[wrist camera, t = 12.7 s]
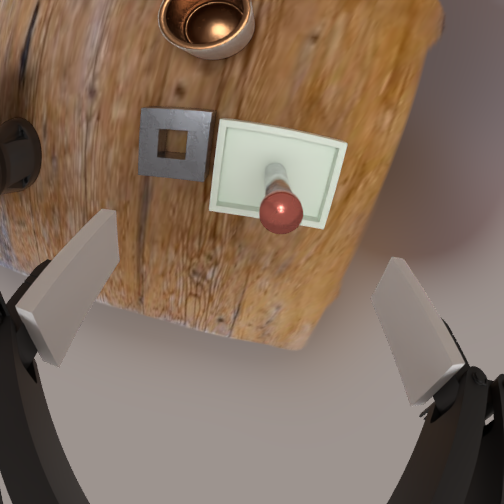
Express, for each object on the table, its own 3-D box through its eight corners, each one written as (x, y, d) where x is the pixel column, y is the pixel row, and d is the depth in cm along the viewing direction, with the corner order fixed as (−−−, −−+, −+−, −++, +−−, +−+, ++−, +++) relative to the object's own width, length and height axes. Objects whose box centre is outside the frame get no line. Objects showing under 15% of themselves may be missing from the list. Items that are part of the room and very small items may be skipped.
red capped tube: (258, 183, 42) (256, 230, 29) (263, 156, 40) (263, 190, 27) (286, 188, 42) (297, 236, 29) (292, 161, 40) (307, 198, 27)
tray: (211, 204, 45) (208, 210, 43) (222, 117, 37) (220, 119, 35) (320, 222, 46) (323, 229, 44) (342, 140, 38) (347, 143, 36)
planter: (244, 66, 33) (238, 59, 25) (171, 55, 32) (146, 47, 24) (263, 3, 28) (263, -20, 19) (190, -6, 26) (171, -28, 18)
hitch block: (147, 167, 41) (138, 174, 38) (151, 106, 36) (141, 107, 33) (208, 173, 42) (203, 181, 39) (216, 110, 37) (211, 112, 33)
